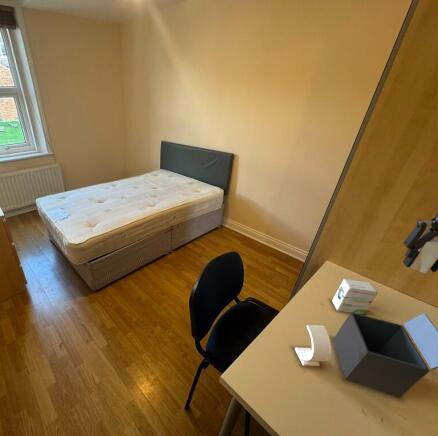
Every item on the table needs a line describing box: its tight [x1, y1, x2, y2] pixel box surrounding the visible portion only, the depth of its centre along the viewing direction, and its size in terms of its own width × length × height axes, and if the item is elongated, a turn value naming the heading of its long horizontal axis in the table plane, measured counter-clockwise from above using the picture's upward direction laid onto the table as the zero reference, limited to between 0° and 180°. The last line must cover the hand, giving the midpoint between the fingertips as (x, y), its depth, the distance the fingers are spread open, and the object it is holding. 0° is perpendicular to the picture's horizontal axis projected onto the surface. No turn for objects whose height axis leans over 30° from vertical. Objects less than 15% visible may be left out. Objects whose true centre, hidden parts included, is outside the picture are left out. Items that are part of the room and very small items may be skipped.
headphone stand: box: [294, 324, 332, 367], centre depth 68 cm, size 5×6×12 cm
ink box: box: [331, 278, 379, 316], centre depth 83 cm, size 9×5×12 cm, turn 75°
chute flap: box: [403, 312, 438, 371], centre depth 58 cm, size 6×13×1 cm
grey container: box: [333, 312, 431, 399], centre depth 65 cm, size 12×13×14 cm
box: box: [408, 237, 438, 274], centre depth 76 cm, size 5×4×11 cm
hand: (418, 266), depth 79 cm, fingers closed on box, 6 cm apart
